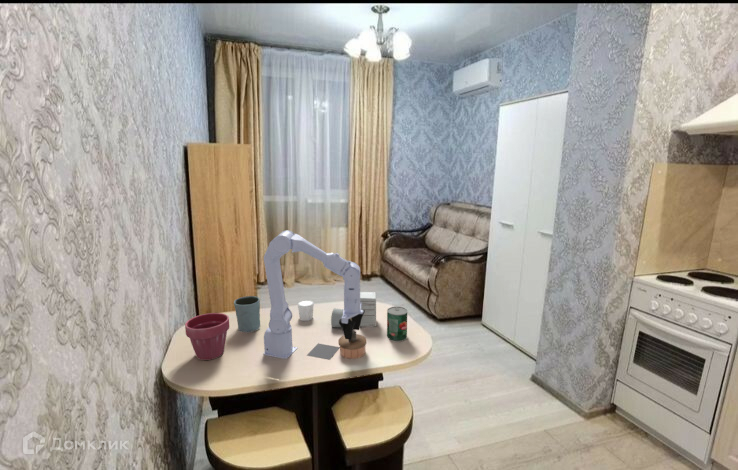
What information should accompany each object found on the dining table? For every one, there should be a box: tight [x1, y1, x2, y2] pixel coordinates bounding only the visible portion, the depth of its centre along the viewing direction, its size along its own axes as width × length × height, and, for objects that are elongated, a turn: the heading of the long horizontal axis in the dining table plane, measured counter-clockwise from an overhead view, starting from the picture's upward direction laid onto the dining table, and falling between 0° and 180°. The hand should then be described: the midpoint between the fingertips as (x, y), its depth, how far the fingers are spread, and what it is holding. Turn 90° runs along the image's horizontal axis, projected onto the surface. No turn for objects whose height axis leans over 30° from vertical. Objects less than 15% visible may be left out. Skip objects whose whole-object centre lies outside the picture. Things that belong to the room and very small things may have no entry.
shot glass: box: [297, 299, 314, 322], centre depth 161 cm, size 7×7×7 cm
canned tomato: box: [386, 306, 409, 342], centre depth 144 cm, size 8×8×11 cm
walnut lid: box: [338, 330, 367, 350], centre depth 132 cm, size 10×10×4 cm
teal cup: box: [233, 295, 261, 333], centre depth 151 cm, size 10×10×12 cm
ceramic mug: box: [330, 307, 352, 329], centre depth 154 cm, size 11×8×8 cm
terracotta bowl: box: [339, 345, 366, 359], centre depth 132 cm, size 9×9×4 cm
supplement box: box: [360, 291, 377, 328], centre depth 156 cm, size 7×7×13 cm
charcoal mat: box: [306, 342, 340, 361], centre depth 133 cm, size 9×9×1 cm
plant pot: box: [184, 312, 230, 361], centre depth 131 cm, size 14×14×13 cm
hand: (352, 334), depth 131 cm, fingers open, 7 cm apart
